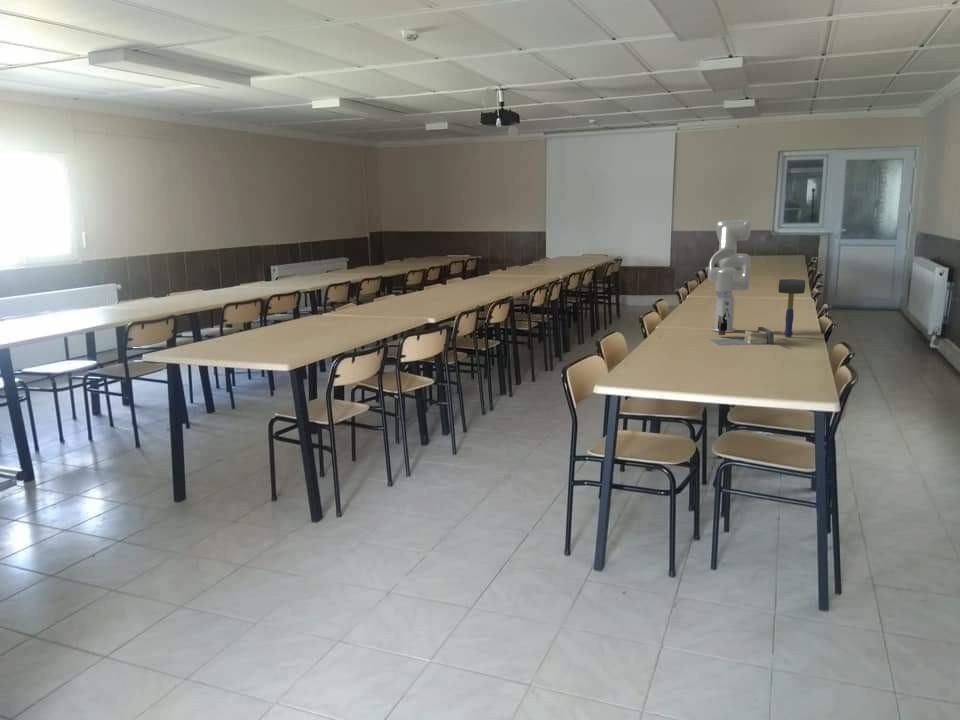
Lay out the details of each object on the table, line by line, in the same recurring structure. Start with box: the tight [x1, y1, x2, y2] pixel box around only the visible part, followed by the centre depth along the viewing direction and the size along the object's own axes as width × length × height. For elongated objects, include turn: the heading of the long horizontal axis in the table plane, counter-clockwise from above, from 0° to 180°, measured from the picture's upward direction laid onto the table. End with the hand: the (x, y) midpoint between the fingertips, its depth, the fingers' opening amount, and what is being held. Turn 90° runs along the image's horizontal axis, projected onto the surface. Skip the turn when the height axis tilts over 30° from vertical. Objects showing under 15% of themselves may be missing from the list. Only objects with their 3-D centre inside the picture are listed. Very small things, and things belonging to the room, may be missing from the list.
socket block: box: [744, 329, 768, 344], centre depth 345 cm, size 8×8×5 cm
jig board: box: [710, 326, 775, 346], centre depth 346 cm, size 15×26×8 cm, turn 90°
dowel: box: [718, 316, 726, 336], centre depth 358 cm, size 3×3×12 cm
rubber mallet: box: [778, 278, 806, 338], centre depth 361 cm, size 12×8×30 cm, turn 66°
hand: (722, 329), depth 359 cm, fingers closed on dowel, 3 cm apart
